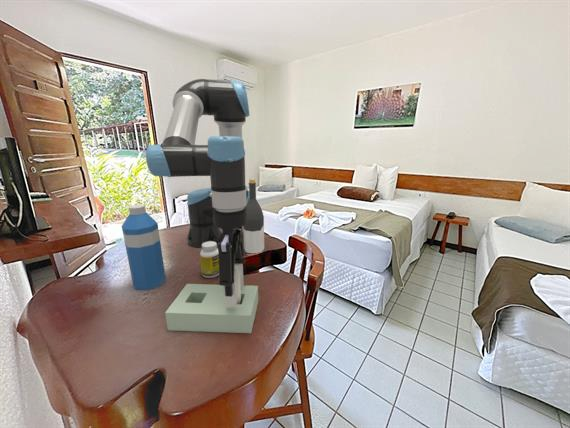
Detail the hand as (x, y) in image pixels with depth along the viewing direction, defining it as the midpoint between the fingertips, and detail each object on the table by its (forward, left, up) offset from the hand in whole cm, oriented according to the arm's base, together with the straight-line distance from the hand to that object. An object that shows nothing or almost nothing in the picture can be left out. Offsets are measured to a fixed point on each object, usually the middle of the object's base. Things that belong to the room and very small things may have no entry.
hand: (234, 294), depth 61 cm
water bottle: (-14, -31, -6) cm, 35 cm away
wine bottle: (-37, -1, -6) cm, 38 cm away
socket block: (0, -5, -6) cm, 8 cm away
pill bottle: (-20, -13, -6) cm, 25 cm away
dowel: (0, 0, -6) cm, 6 cm away
